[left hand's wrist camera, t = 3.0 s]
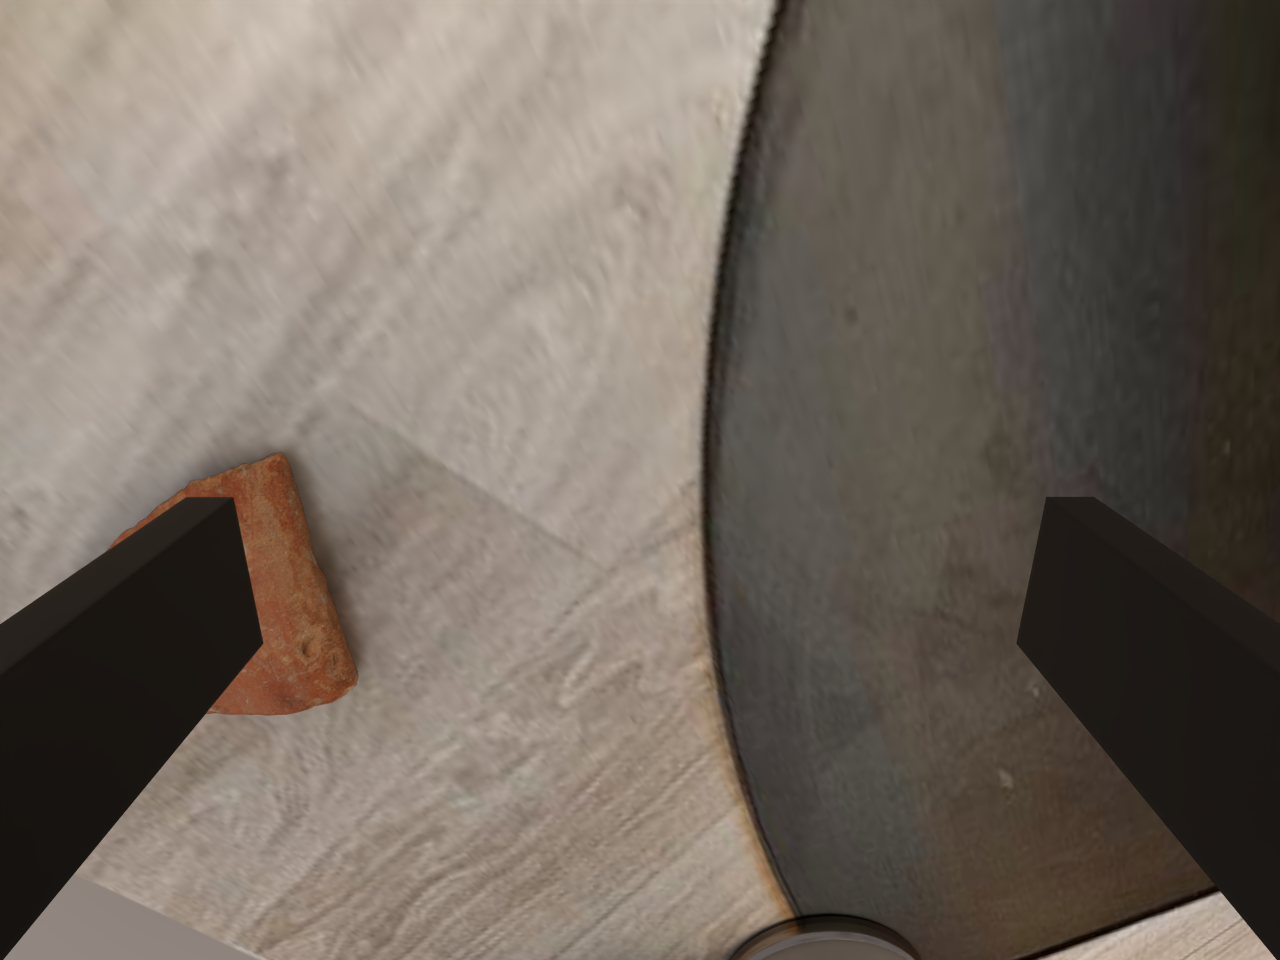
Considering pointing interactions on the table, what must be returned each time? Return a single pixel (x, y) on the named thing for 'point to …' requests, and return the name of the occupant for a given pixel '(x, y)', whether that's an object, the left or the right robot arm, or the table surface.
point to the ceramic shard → (278, 595)
